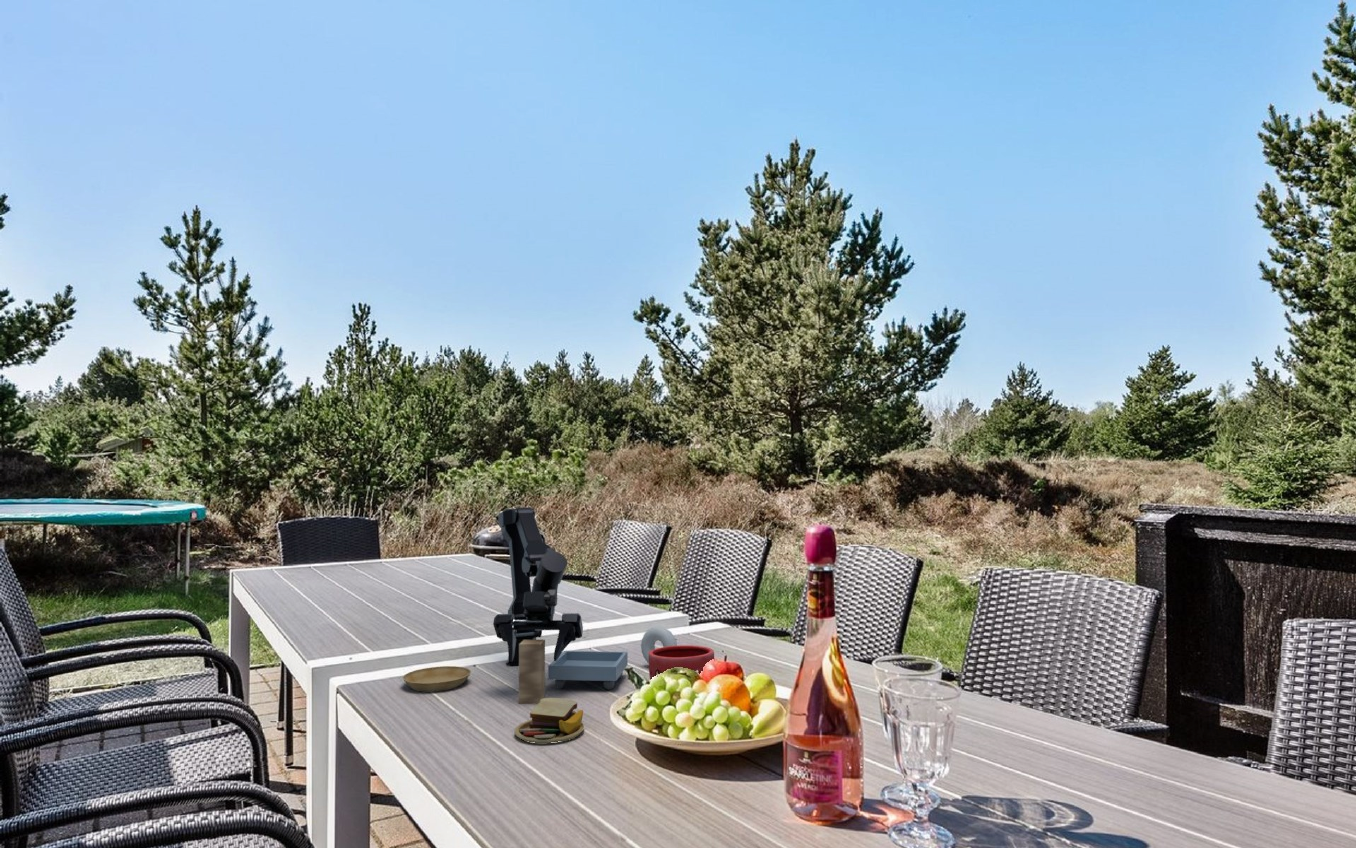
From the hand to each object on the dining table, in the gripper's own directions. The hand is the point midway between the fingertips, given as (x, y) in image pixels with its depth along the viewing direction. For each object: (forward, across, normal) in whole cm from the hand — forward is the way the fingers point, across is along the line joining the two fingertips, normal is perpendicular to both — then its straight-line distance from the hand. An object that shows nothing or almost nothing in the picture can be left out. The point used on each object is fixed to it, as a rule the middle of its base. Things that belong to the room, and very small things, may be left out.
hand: (532, 660), depth 162 cm
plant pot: (+12, +31, 0) cm, 33 cm away
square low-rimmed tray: (-3, +10, +15) cm, 18 cm away
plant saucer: (-2, -24, +14) cm, 28 cm away
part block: (+6, 0, +6) cm, 8 cm away
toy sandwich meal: (+20, +7, -8) cm, 23 cm away
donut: (-12, +25, +24) cm, 37 cm away
